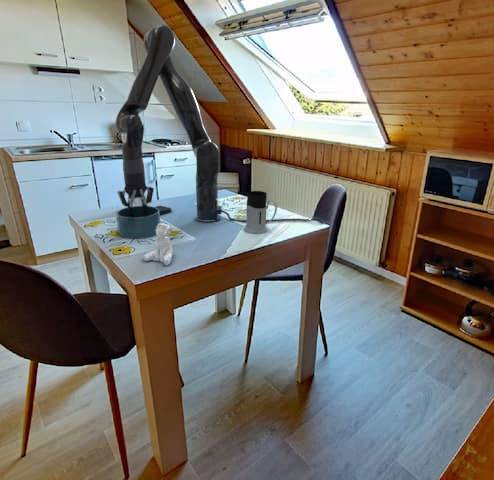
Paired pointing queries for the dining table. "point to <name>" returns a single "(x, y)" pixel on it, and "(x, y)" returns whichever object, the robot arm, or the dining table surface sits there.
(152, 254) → the seated beast figurine
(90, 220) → the dining table surface
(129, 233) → the cooking pot
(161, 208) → the smart home device
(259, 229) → the travel mug
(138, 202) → the white cup
